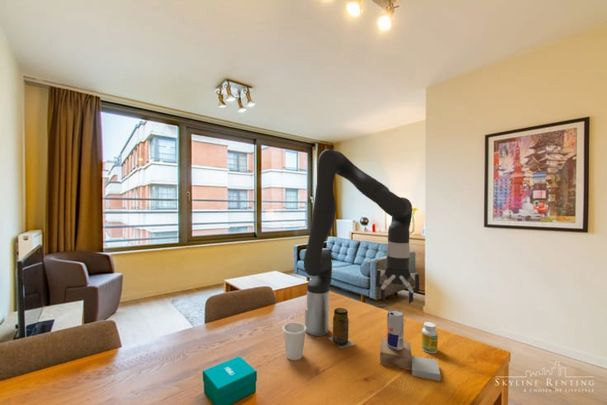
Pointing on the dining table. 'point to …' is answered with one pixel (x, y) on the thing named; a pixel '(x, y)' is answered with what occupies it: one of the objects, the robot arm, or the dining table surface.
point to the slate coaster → (425, 368)
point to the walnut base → (396, 355)
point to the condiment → (340, 328)
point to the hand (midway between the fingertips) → (396, 300)
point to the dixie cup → (294, 340)
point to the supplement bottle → (429, 338)
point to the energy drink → (395, 330)
